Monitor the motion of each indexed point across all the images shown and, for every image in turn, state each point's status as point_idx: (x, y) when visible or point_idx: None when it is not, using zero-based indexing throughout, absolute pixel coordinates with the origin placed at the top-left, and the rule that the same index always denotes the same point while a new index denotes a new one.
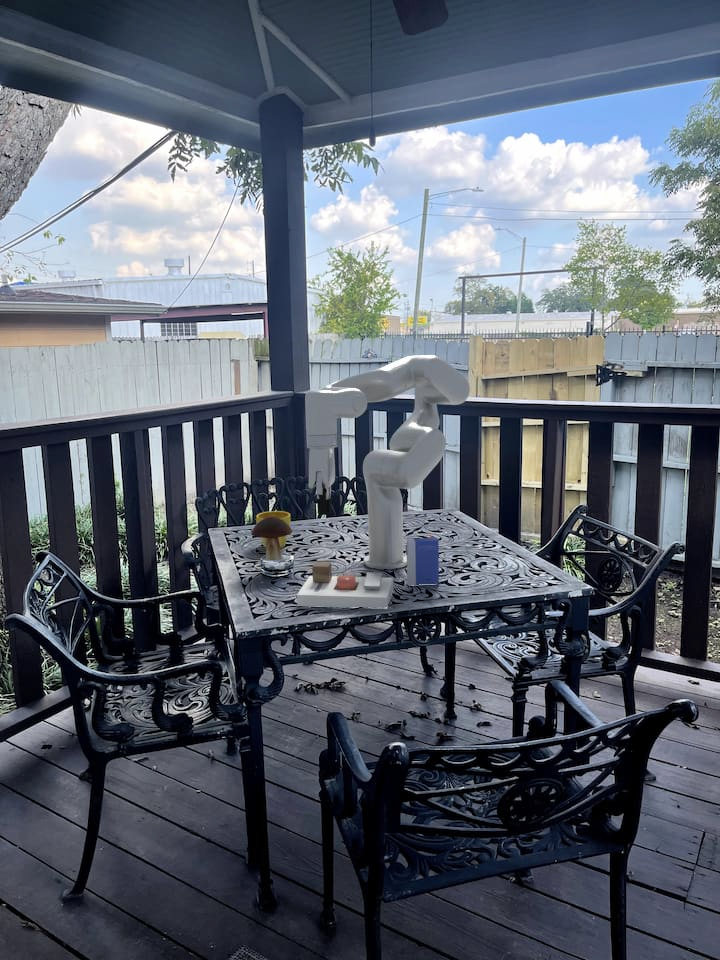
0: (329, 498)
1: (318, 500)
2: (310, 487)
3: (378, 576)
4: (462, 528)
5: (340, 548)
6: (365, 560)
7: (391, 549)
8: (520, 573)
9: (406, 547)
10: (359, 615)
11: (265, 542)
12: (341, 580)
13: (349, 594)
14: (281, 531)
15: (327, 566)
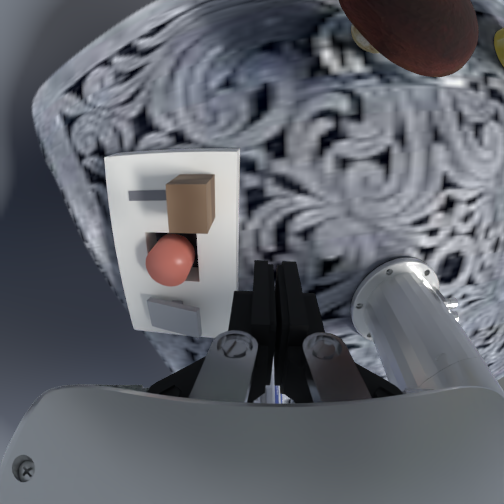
0: (281, 387)
1: (251, 324)
2: (46, 396)
3: (184, 330)
4: (495, 370)
5: (493, 197)
6: (396, 266)
7: (373, 340)
8: None
9: (261, 401)
10: (109, 275)
11: (501, 30)
12: (149, 258)
13: (128, 268)
14: (381, 32)
15: (169, 229)
